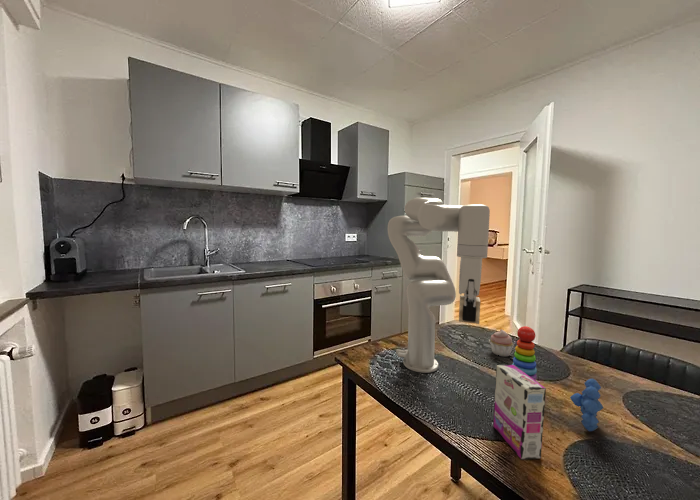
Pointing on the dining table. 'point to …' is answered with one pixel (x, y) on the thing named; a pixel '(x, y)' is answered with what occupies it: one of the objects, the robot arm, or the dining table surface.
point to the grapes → (589, 404)
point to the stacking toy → (525, 352)
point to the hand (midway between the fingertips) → (468, 317)
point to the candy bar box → (519, 411)
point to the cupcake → (501, 343)
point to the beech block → (476, 310)
